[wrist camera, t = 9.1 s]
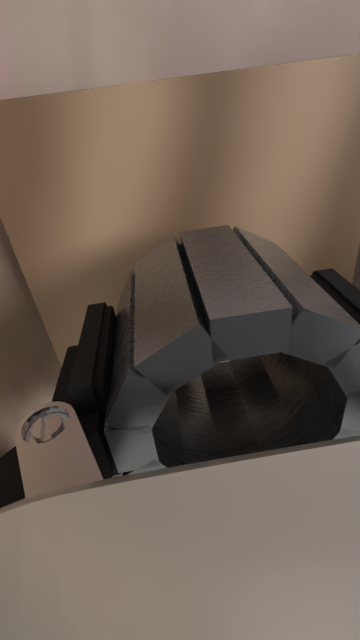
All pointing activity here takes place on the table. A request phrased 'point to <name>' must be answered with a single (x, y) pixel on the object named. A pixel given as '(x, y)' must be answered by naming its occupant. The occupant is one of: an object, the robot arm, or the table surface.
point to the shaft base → (178, 176)
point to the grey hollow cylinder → (226, 355)
